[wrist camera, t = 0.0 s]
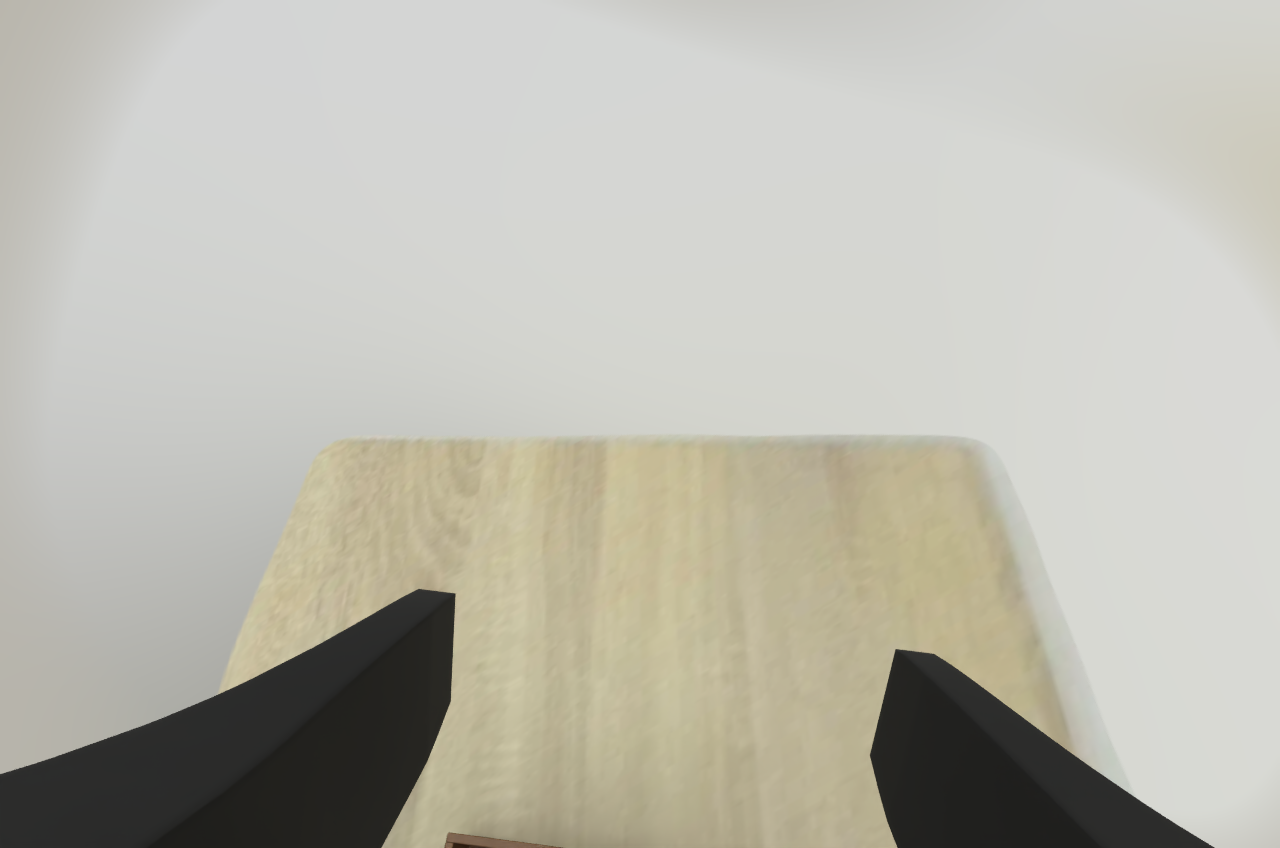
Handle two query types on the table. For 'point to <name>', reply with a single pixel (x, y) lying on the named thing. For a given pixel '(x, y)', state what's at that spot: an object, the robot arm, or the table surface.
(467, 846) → the carton
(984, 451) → the table surface
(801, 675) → the table surface
